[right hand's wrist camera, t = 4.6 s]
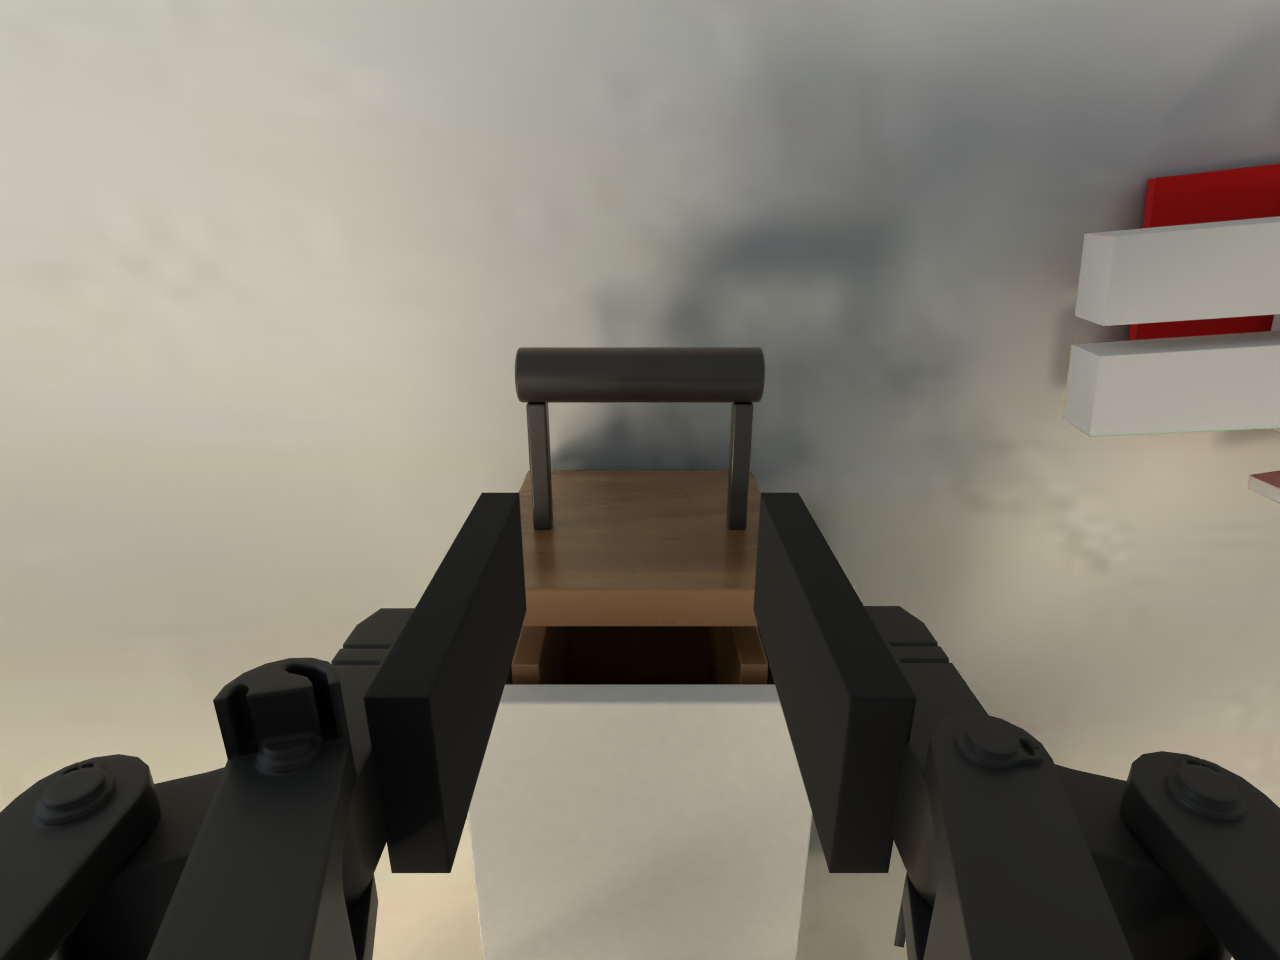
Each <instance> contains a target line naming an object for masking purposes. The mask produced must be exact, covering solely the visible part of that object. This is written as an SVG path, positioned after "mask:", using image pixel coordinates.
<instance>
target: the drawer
mask: <svg viewBox="0 0 1280 960" xmlns="http://www.w3.org/2000/svg"><path fill="white" fill-rule="evenodd" d="M764 380H765V364H764V355H763V352H762V349H761V348H519V349H518V351H517V354H516V360H515V383H516V391H517V396H518V399H519V401H520V402H528V403H527V406H526V407H527V425H528V443H529V460H530V471H528V473H527V476H526V478H525V480H524V482H523V485H522V487H521V489H520V491H519V497H520V513H521V529H522V545H523V561H524V576H525V592H526V608H527V611H526V614H525V618H524V621H523V624H522V626H523V627H522V630H521V634H520V637H519V641H518V644H517V648H516V651H515V655H514V658H513V662H512V665H511V666H512V679H513V685H652V684H767V675H768V663H767V659H766V656H765V652H764V649H763V645H762V642H761V639H760V635H759V632H758V628H757V626H758V624H757V621H756V618H755V614H754V611H753V608H754V592H755V576H756V560H757V545H758V529H759V513H760V497H761V492H760V490H759V488H758V485H757V483H756V481H755V479H754V476H753V474H752V472H751V471H750V456H751V438H752V420H753V404H752V402H759V401H760V400H761V398H762V395H763V390H764ZM548 402H732V408H731V430H730V451H729V471H551V458H550V436H549V414H548Z"/></svg>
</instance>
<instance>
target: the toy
mask: <svg viewBox="0 0 1280 960" xmlns="http://www.w3.org/2000/svg"><path fill="white" fill-rule="evenodd" d="M1075 316H1076V317H1079V318H1082V319H1085V320H1088V321H1091V322H1094V323H1097V324H1100V325H1103V326H1112V325H1126V324H1130V333H1129V341H1114V342H1098V343H1083V344H1071V352H1070V361H1069V369H1068V378H1067V386H1066V394H1065V403H1064V411H1063V419H1064V420H1065V421H1067V422H1068V423H1070V424H1071V425H1073V426H1074V427H1076V428H1077V429H1079V430H1080V431H1082V432H1083V433H1085V434H1086V435H1088V436H1089V437H1092V436H1114V435H1136V434H1159V433H1181V432H1203V431H1225V430H1247V429H1272V430H1274V431H1277V432H1279V433H1280V164H1273V165H1265V166H1256V167H1247V168H1239V169H1230V170H1221V171H1213V172H1204V173H1196V174H1187V175H1178V176H1170V177H1161V178H1152V179H1148V185H1147V193H1146V201H1145V209H1144V218H1143V226H1142V229H1130V230H1119V231H1108V232H1096V233H1085V234H1084V243H1083V251H1082V260H1081V268H1080V276H1079V285H1078V293H1077V302H1076V310H1075ZM1249 489H1250V490H1252V491H1254V492H1256V493H1258V494H1260V495H1262V496H1265V497H1267V498H1269V499H1271V500H1273V501H1275V502H1277V503H1280V471H1274V472H1268V473H1261V474H1254V475H1249Z"/></svg>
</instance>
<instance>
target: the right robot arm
mask: <svg viewBox="0 0 1280 960" xmlns="http://www.w3.org/2000/svg"><path fill="white" fill-rule="evenodd" d="M526 611H527V608H526V592H525V576H524V561H523V545H522V529H521V513H520V497H519V493H482V494H481V495H480V497H479V499H478V501H477V502H476V504H475V506H474V507H473V509H472V511H471V513H470V514H469V516H468V518H467V520H466V521H465V523H464V525H463V526H462V528H461V530H460V532H459V533H458V535H457V537H456V539H455V540H454V542H453V544H452V545H451V547H450V549H449V551H448V552H447V554H446V556H445V558H444V559H443V561H442V563H441V564H440V566H439V568H438V570H437V571H436V573H435V575H434V577H433V578H432V580H431V582H430V583H429V585H428V587H427V589H426V590H425V592H424V594H423V596H422V597H421V599H420V601H419V602H418V604H417V606H416V608H381V609H380V610H378V611H377V612H375V613H374V614H372V615H371V616H369V617H368V618H367V619H365V620H364V621H362V622H361V623H359V624H358V625H357V626H356V627H355V629H354V630H353V631H352V633H351V634H350V636H349V637H348V639H347V640H346V641H345V643H344V644H343V649H340V650H339V651H338V653H337V654H336V656H335V657H334V659H333V660H332V664H330V663H329V662H327V661H323V660H318V659H314V658H289V659H284V660H280V661H276V662H271V663H267V664H264V665H262V666H259V667H257V668H255V669H252V670H250V671H248V672H245V673H243V674H242V675H240V676H239V677H237V678H236V679H234V680H233V681H231V682H230V683H228V684H227V685H225V686H224V687H223V689H222V690H221V691H220V692H219V694H218V695H217V696H216V697H215V699H214V700H213V702H214V706H215V710H216V714H217V718H218V722H219V726H220V730H221V734H222V738H223V741H224V745H225V749H226V753H227V757H228V761H227V764H226V766H225V767H224V768H221V769H217V770H214V771H210V772H207V773H202V774H198V775H193V776H189V777H184V778H180V779H175V780H171V781H166V782H162V783H157V784H154V782H153V779H152V776H151V773H150V769H149V766H148V765H147V764H145V763H144V762H143V761H142V760H141V759H139V758H138V757H133V756H126V755H120V754H118V755H110V756H102V757H95V758H91V759H88V760H84V761H82V762H79V763H75V764H72V765H70V766H67V767H65V768H63V769H61V770H59V771H57V772H55V773H53V774H51V775H49V776H47V777H45V778H43V779H41V780H39V781H38V782H37V783H35V784H34V785H33V786H31V787H30V788H29V789H27V790H26V791H25V792H23V793H22V794H21V795H19V796H18V797H17V798H15V799H14V800H13V801H12V802H11V803H10V804H9V805H8V806H7V807H6V808H5V809H4V810H3V811H2V812H1V813H0V960H372V956H373V946H374V937H375V927H376V917H377V907H378V898H377V891H376V884H375V879H374V871H375V869H376V867H377V864H378V862H379V859H380V857H381V854H382V852H383V849H384V847H385V844H386V842H387V846H388V852H389V858H390V864H391V871H392V873H450V872H451V869H452V866H453V862H454V859H455V855H456V852H457V848H458V845H459V841H460V838H461V835H462V831H463V828H464V824H465V821H466V817H467V814H468V810H469V807H470V804H471V800H472V797H473V793H474V790H475V786H476V783H477V779H478V776H479V773H480V769H481V766H482V762H483V759H484V755H485V752H486V748H487V745H488V742H489V738H490V735H491V731H492V728H493V724H494V721H495V717H496V714H497V711H498V707H499V704H500V700H501V697H502V693H503V690H504V686H505V683H506V680H507V676H508V673H509V669H510V666H511V662H512V659H513V655H514V652H515V649H516V645H517V642H518V638H519V635H520V631H521V628H522V624H523V621H524V618H525V614H526ZM753 611H754V614H755V618H756V621H757V624H758V628H759V631H760V635H761V638H762V642H763V645H764V649H765V652H766V655H767V659H768V662H769V666H770V669H771V673H772V676H773V680H774V683H775V686H776V690H777V693H778V697H779V700H780V704H781V707H782V711H783V714H784V717H785V721H786V724H787V728H788V731H789V735H790V738H791V742H792V745H793V748H794V752H795V755H796V759H797V762H798V766H799V769H800V773H801V776H802V780H803V783H804V786H805V790H806V793H807V797H808V800H809V804H810V807H811V811H812V814H813V817H814V821H815V824H816V828H817V831H818V835H819V838H820V842H821V845H822V848H823V852H824V855H825V859H826V862H827V866H828V869H829V873H888V871H889V864H890V858H891V852H892V846H893V840H894V841H895V843H896V846H897V848H898V851H899V853H900V856H901V858H902V861H903V863H904V865H905V868H906V870H907V873H906V879H905V884H904V890H903V896H902V901H901V907H900V913H899V919H898V924H897V930H896V937H895V944H894V945H895V946H899V947H904V943H905V937H906V945H907V954H908V960H1231V957H1233V958H1234V959H1235V960H1280V808H1279V807H1278V806H1277V805H1276V804H1275V803H1274V802H1272V801H1271V800H1270V799H1269V798H1268V797H1267V796H1266V795H1265V794H1263V793H1262V792H1261V791H1259V790H1258V789H1257V788H1255V787H1254V786H1253V785H1251V784H1250V783H1249V782H1247V781H1246V780H1245V779H1243V778H1242V777H1240V776H1238V775H1236V774H1234V773H1232V772H1230V771H1228V770H1226V769H1224V768H1222V767H1220V766H1219V765H1217V764H1215V763H1212V762H1209V761H1206V760H1204V759H1203V760H1202V759H1199V758H1197V757H1193V756H1190V755H1187V754H1179V753H1171V752H1163V751H1161V752H1154V753H1148V754H1143V755H1141V756H1140V757H1139V758H1138V759H1137V760H1135V761H1134V762H1133V763H1132V766H1131V769H1130V772H1129V776H1128V779H1127V781H1123V780H1119V779H1114V778H1109V777H1105V776H1100V775H1096V774H1091V773H1087V772H1082V771H1078V770H1073V769H1070V768H1066V767H1063V766H1059V765H1056V764H1054V762H1053V760H1052V758H1051V757H1050V755H1049V754H1048V752H1047V751H1046V749H1045V748H1044V746H1043V745H1042V744H1041V743H1040V742H1039V741H1038V740H1036V739H1035V738H1034V737H1033V736H1031V735H1030V734H1029V733H1027V732H1026V731H1025V730H1024V729H1021V728H1019V727H1017V726H1015V725H1013V724H1011V723H1009V722H1007V721H1005V720H1003V719H999V718H995V717H992V716H989V715H988V714H987V712H986V711H985V710H984V708H983V707H982V705H981V704H980V703H979V701H978V700H977V698H976V697H975V695H974V694H973V693H972V691H971V690H970V688H969V687H968V685H967V684H966V683H965V681H964V680H963V678H962V677H961V675H960V674H959V673H958V671H957V670H956V668H955V667H954V666H953V664H952V663H949V658H948V657H947V656H946V654H945V653H944V651H943V650H942V648H941V647H940V646H937V641H936V640H935V639H934V637H933V636H932V634H931V633H930V631H929V630H928V629H927V627H926V626H925V624H924V623H923V622H921V621H920V620H918V619H917V618H916V617H914V616H913V615H911V614H910V613H908V612H907V611H905V610H904V609H903V608H901V607H900V606H863V604H862V603H861V601H860V599H859V597H858V596H857V594H856V592H855V590H854V589H853V587H852V585H851V584H850V582H849V580H848V578H847V577H846V575H845V573H844V571H843V570H842V568H841V566H840V564H839V563H838V561H837V559H836V558H835V556H834V554H833V552H832V551H831V549H830V547H829V545H828V544H827V542H826V540H825V539H824V537H823V535H822V533H821V532H820V530H819V528H818V526H817V525H816V523H815V521H814V520H813V518H812V516H811V514H810V513H809V511H808V509H807V507H806V506H805V504H804V502H803V501H802V499H801V497H800V495H799V494H798V493H761V497H760V513H759V529H758V545H757V560H756V576H755V592H754V608H753Z"/></svg>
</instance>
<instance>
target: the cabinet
mask: <svg viewBox="0 0 1280 960" xmlns="http://www.w3.org/2000/svg"><path fill="white" fill-rule="evenodd" d="M522 627H523V626H522ZM757 628H758V626H757ZM521 630H522V628H521ZM758 632H759V635H760V631H759V628H758ZM520 634H521V631H520ZM519 637H520V635H519ZM760 639H761V642H762V638H761V635H760ZM518 641H519V638H518ZM517 644H518V642H517ZM762 645H763V642H762ZM516 648H517V645H516ZM763 649H764V645H763ZM515 651H516V649H515ZM764 652H765V649H764ZM514 655H515V652H514ZM514 655H513V658H514ZM765 656H766V659H767V655H766V652H765ZM512 662H513V659H512ZM512 662H511V665H512ZM767 663H768V675H767V684H652V685H513V679H512V666H510V669H509V673H508V676H507V680H506V683H505V686H504V690H503V693H502V697H501V700H500V704H499V707H498V711H497V714H496V717H495V721H494V724H493V728H492V731H491V735H490V738H489V742H488V745H487V748H486V752H485V755H484V759H483V762H482V766H481V769H480V773H479V776H478V779H477V783H476V786H475V790H474V793H473V797H472V800H471V804H470V807H469V810H468V814H467V816H468V826H469V835H470V844H471V853H472V863H473V872H474V881H475V890H476V900H477V909H478V918H479V928H480V937H481V946H482V955H483V960H797V953H798V944H799V935H800V925H801V916H802V907H803V898H804V888H805V879H806V870H807V861H808V851H809V842H810V833H811V824H812V815H813V814H812V811H811V807H810V804H809V800H808V797H807V793H806V790H805V786H804V783H803V780H802V776H801V773H800V769H799V766H798V762H797V759H796V755H795V752H794V748H793V745H792V742H791V738H790V735H789V731H788V728H787V724H786V721H785V717H784V714H783V711H782V707H781V704H780V700H779V697H778V693H777V690H776V686H775V683H774V680H773V676H772V673H771V669H770V666H769V662H768V659H767Z"/></svg>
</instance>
